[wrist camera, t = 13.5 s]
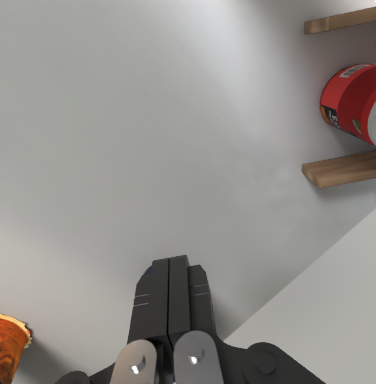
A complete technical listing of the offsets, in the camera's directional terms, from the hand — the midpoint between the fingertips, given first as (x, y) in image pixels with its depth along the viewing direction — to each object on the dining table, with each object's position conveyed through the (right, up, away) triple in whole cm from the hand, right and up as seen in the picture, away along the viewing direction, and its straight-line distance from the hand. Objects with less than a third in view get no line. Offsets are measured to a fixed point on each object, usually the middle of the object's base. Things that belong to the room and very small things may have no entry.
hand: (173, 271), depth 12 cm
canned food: (+22, +16, +23) cm, 36 cm away
